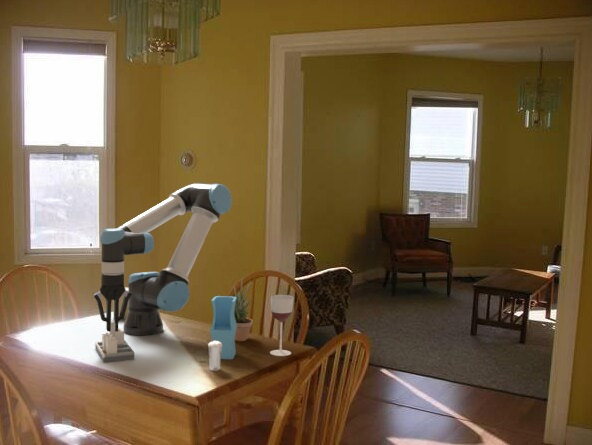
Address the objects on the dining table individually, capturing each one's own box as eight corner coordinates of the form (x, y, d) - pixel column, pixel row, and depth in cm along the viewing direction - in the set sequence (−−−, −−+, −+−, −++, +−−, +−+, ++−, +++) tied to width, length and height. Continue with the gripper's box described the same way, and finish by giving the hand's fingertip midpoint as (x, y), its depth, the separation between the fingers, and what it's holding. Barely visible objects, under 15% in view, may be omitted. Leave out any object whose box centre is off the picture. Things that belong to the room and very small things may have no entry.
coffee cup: (139, 317, 266) (139, 289, 265) (120, 320, 258) (120, 292, 257) (125, 313, 272) (126, 286, 271) (107, 316, 264) (107, 289, 263)
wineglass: (295, 350, 223) (296, 295, 221) (286, 357, 215) (288, 300, 213) (274, 348, 225) (275, 293, 224) (265, 354, 217) (267, 298, 216)
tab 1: (111, 347, 214) (111, 332, 214) (113, 350, 211) (113, 334, 210) (102, 347, 213) (102, 332, 212) (103, 351, 209) (104, 335, 209)
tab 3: (122, 341, 221) (122, 327, 220) (124, 344, 217) (124, 329, 217) (113, 342, 219) (113, 328, 219) (115, 345, 216) (115, 330, 216)
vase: (209, 358, 211) (211, 300, 209) (213, 351, 219) (215, 295, 217) (232, 359, 211) (234, 301, 209) (236, 352, 218) (237, 296, 217)
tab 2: (114, 351, 210) (115, 335, 209) (117, 354, 206) (117, 338, 206) (105, 352, 208) (105, 336, 208) (107, 355, 205) (107, 339, 204)
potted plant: (257, 340, 235) (258, 275, 233) (235, 343, 230) (237, 277, 228) (243, 334, 243) (244, 271, 241) (221, 337, 238) (223, 273, 236)
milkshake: (205, 367, 202) (206, 336, 201) (222, 367, 202) (222, 337, 201) (204, 371, 197) (205, 340, 196) (221, 371, 198) (222, 340, 197)
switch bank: (124, 345, 223) (124, 339, 222) (134, 359, 208) (134, 352, 207) (95, 348, 218) (95, 342, 218) (103, 362, 203) (103, 355, 203)
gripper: (129, 270, 222) (128, 335, 224) (91, 272, 216) (91, 339, 218) (134, 274, 215) (133, 341, 217) (94, 276, 209) (94, 344, 211)
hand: (112, 340), depth 217 cm, fingers closed
